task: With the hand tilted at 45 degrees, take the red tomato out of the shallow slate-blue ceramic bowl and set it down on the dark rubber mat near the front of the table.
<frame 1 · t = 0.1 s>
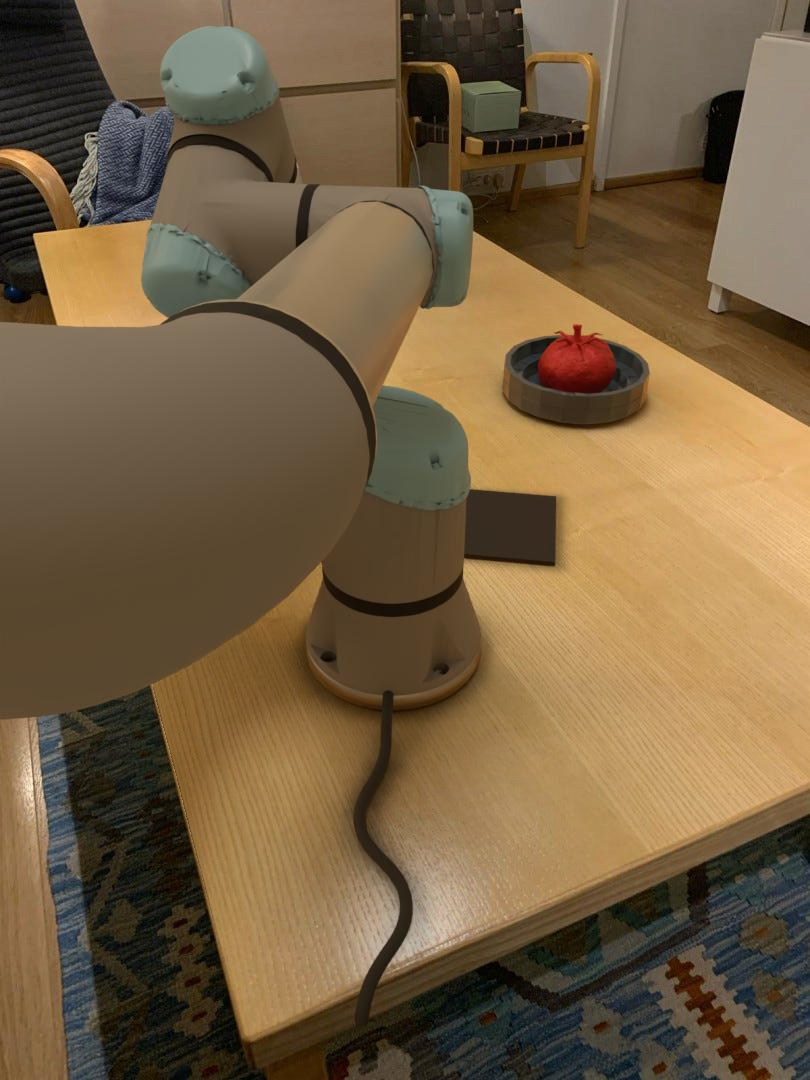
hand: (311, 343, 93), 15 cm above the table, tool tilted 35°, fingers open, 13 cm apart
bowl: (572, 394, 117), on the table
mat: (497, 526, 92), on the table
red tomato: (572, 391, 117), resting in bowl
coffee cup: (384, 294, 147), on the table
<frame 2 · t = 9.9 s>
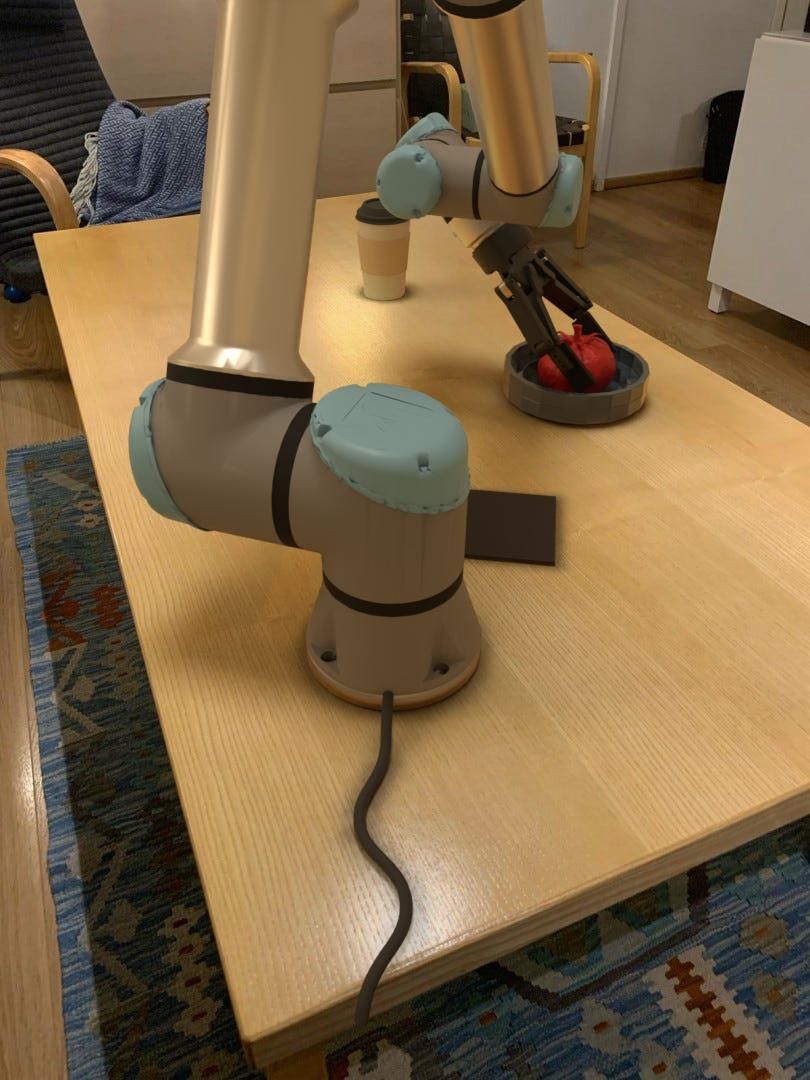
hand: (598, 371, 114), 4 cm above the table, tool tilted 45°, fingers closed on red tomato, 10 cm apart
red tomato: (572, 391, 117), resting in bowl, touching gripper
everything else where it was.
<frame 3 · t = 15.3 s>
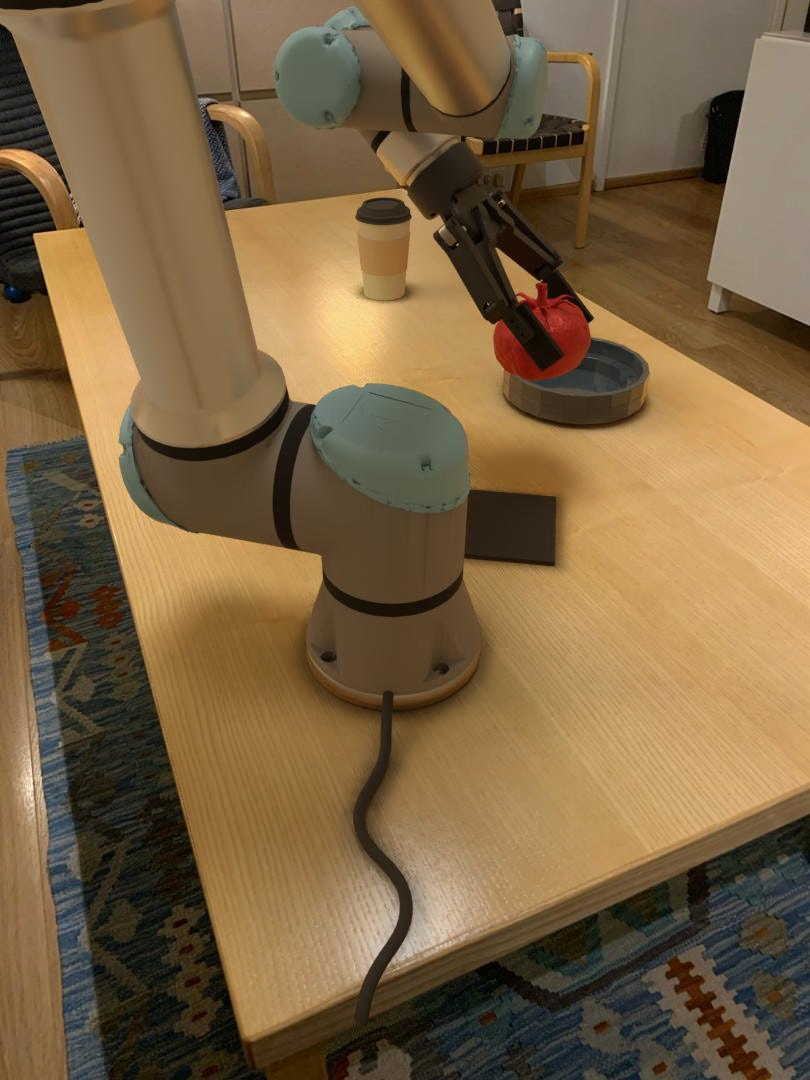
hand: (569, 344, 90), 17 cm above the table, tool tilted 45°, fingers closed on red tomato, 10 cm apart
red tomato: (537, 370, 93), point 13 cm above the table, touching gripper
everything else where it was.
when the fingers open (4 cm above the table, at t = 20.9 s): red tomato stays where it is, resting on mat.
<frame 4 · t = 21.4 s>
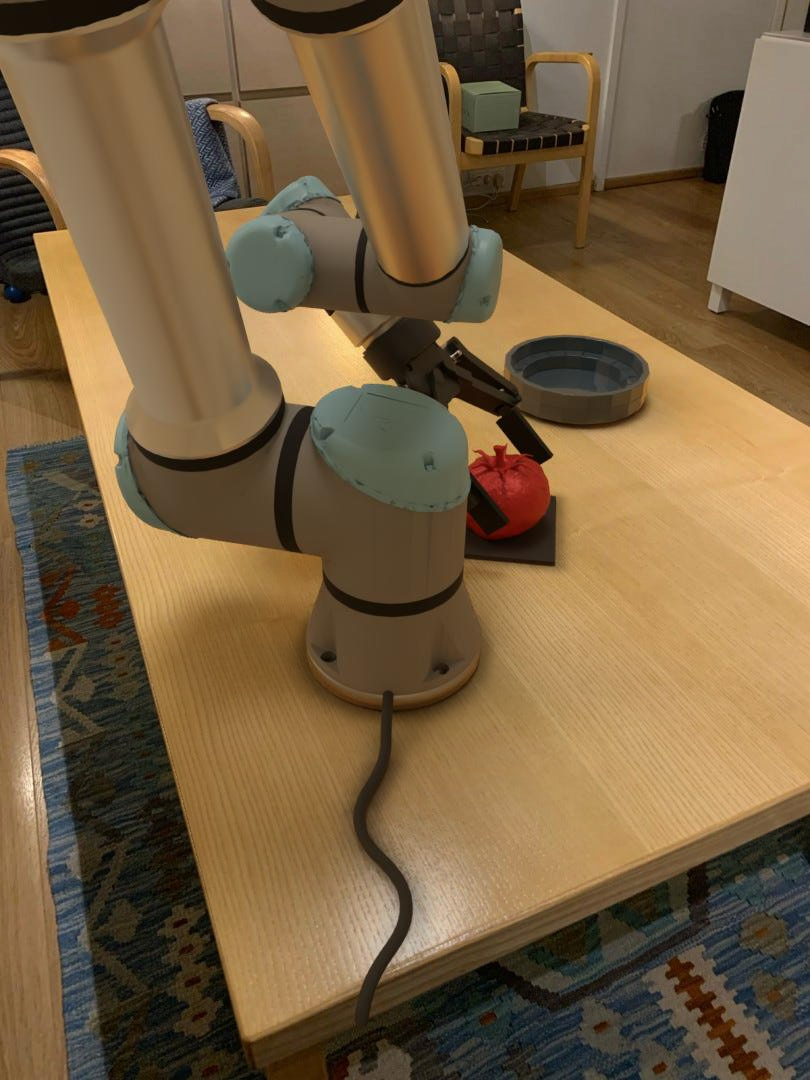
hand: (522, 493, 89), 5 cm above the table, tool tilted 45°, fingers open, 13 cm apart
red tomato: (497, 523, 92), resting on mat
everything else where it was.
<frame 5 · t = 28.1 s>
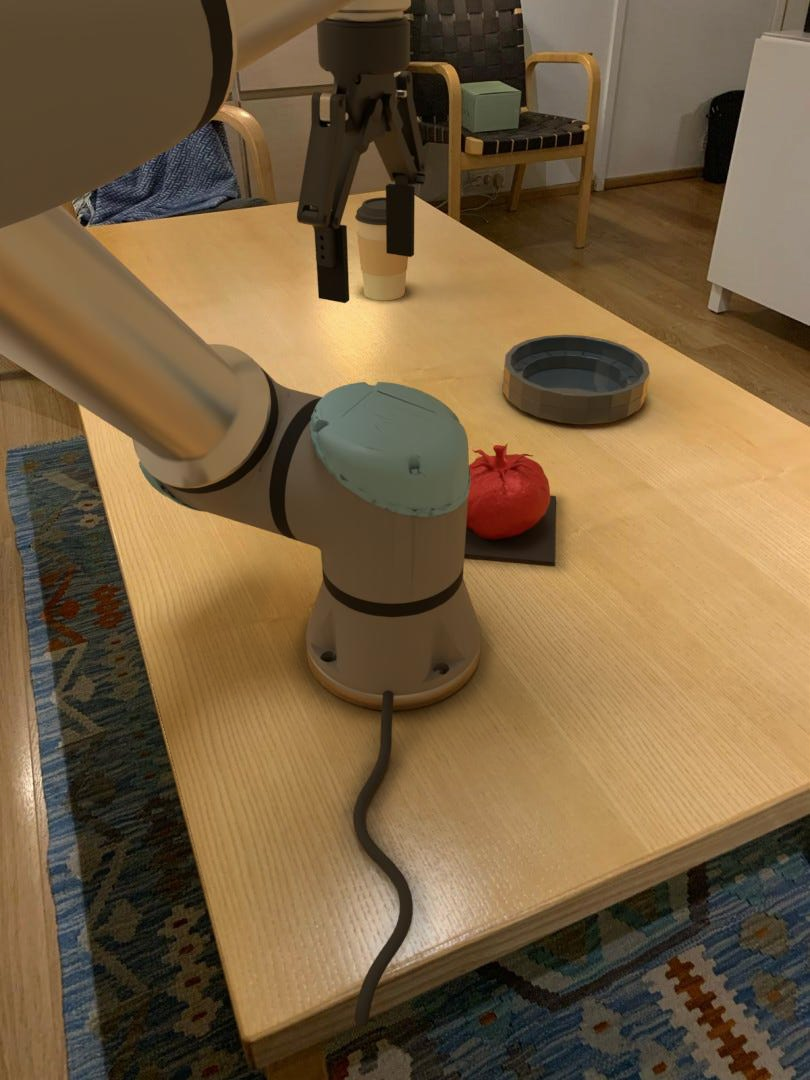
hand: (369, 275, 83), 25 cm above the table, tool pointing down, fingers open, 13 cm apart
nothing on the table moved.
at the end: red tomato inside the target area on the mat (0.1 cm from its centre), point 0.3 cm above the mat's base; red tomato touching mat; the gripper is holding nothing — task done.
